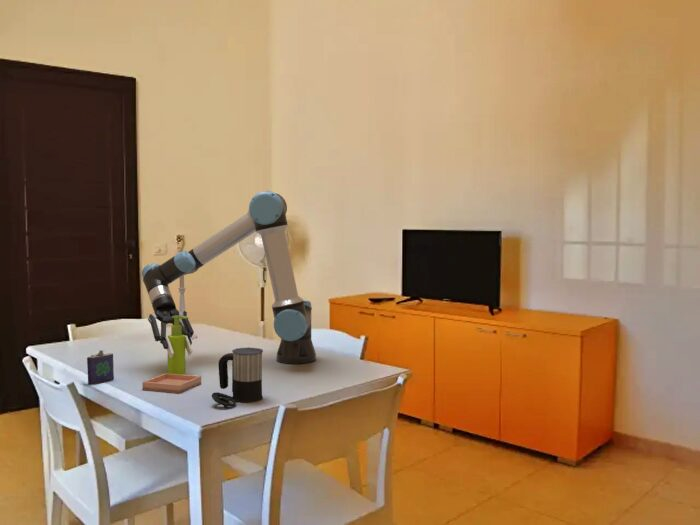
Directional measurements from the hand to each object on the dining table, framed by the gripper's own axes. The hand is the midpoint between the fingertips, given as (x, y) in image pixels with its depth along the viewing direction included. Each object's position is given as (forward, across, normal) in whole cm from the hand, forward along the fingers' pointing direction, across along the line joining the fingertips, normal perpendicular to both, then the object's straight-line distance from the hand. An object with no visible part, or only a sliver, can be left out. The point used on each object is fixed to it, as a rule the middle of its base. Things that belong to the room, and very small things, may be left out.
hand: (181, 354), depth 218 cm
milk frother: (+32, -3, +19) cm, 37 cm away
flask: (-3, +23, -14) cm, 27 cm away
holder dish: (+12, +6, 0) cm, 13 cm away
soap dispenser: (+3, 0, -8) cm, 8 cm away
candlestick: (-45, -30, -57) cm, 79 cm away
